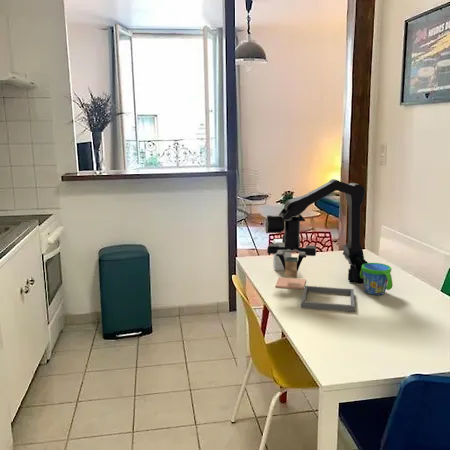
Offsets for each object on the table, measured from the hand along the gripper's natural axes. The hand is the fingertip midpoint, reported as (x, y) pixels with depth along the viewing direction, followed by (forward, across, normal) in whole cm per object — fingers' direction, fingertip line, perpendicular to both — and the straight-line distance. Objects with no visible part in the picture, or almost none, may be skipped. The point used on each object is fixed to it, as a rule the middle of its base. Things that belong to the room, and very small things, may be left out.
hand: (291, 270), depth 194 cm
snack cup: (+6, -32, +3) cm, 33 cm away
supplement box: (+6, +6, -21) cm, 23 cm away
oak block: (+2, 0, 0) cm, 2 cm away
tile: (+6, 0, 0) cm, 6 cm away
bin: (+6, -15, +16) cm, 23 cm away
